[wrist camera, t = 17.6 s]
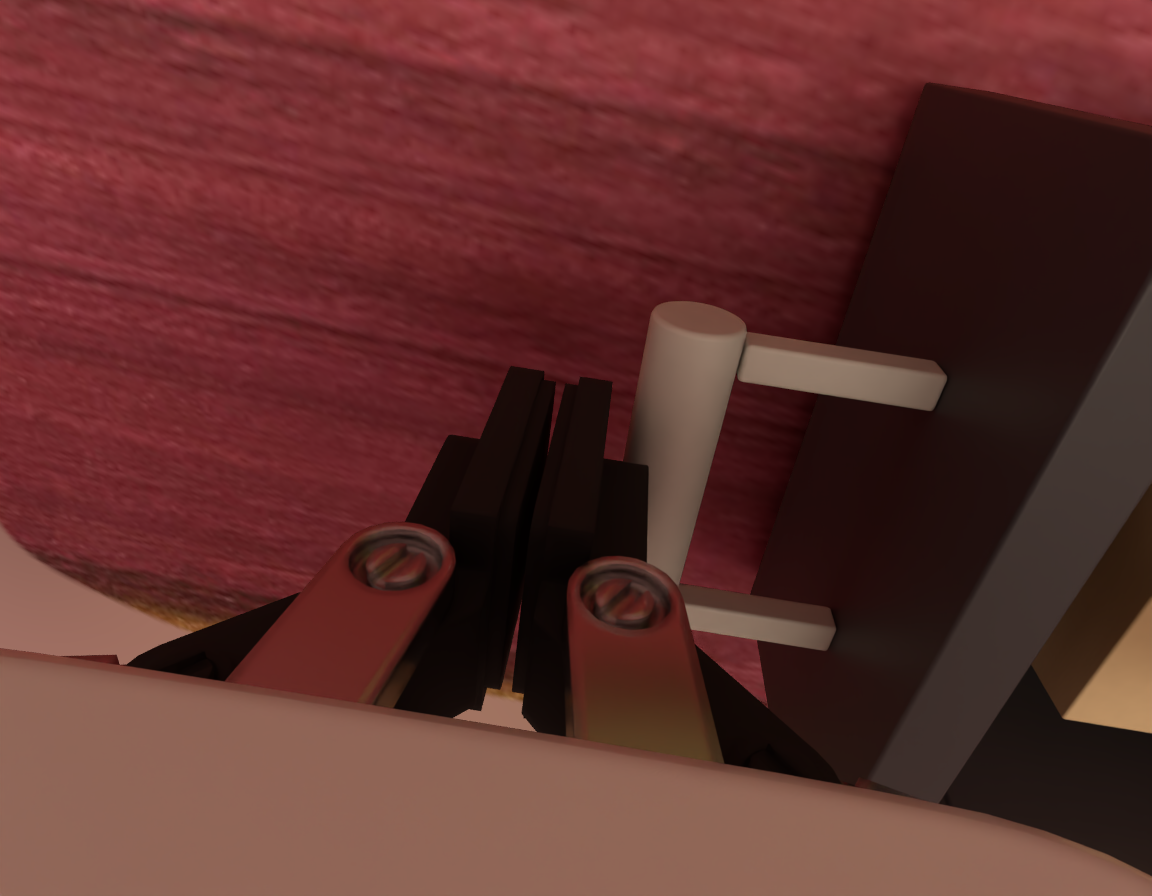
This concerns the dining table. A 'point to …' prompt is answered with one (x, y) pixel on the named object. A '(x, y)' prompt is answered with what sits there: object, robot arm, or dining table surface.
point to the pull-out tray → (944, 467)
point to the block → (1107, 636)
